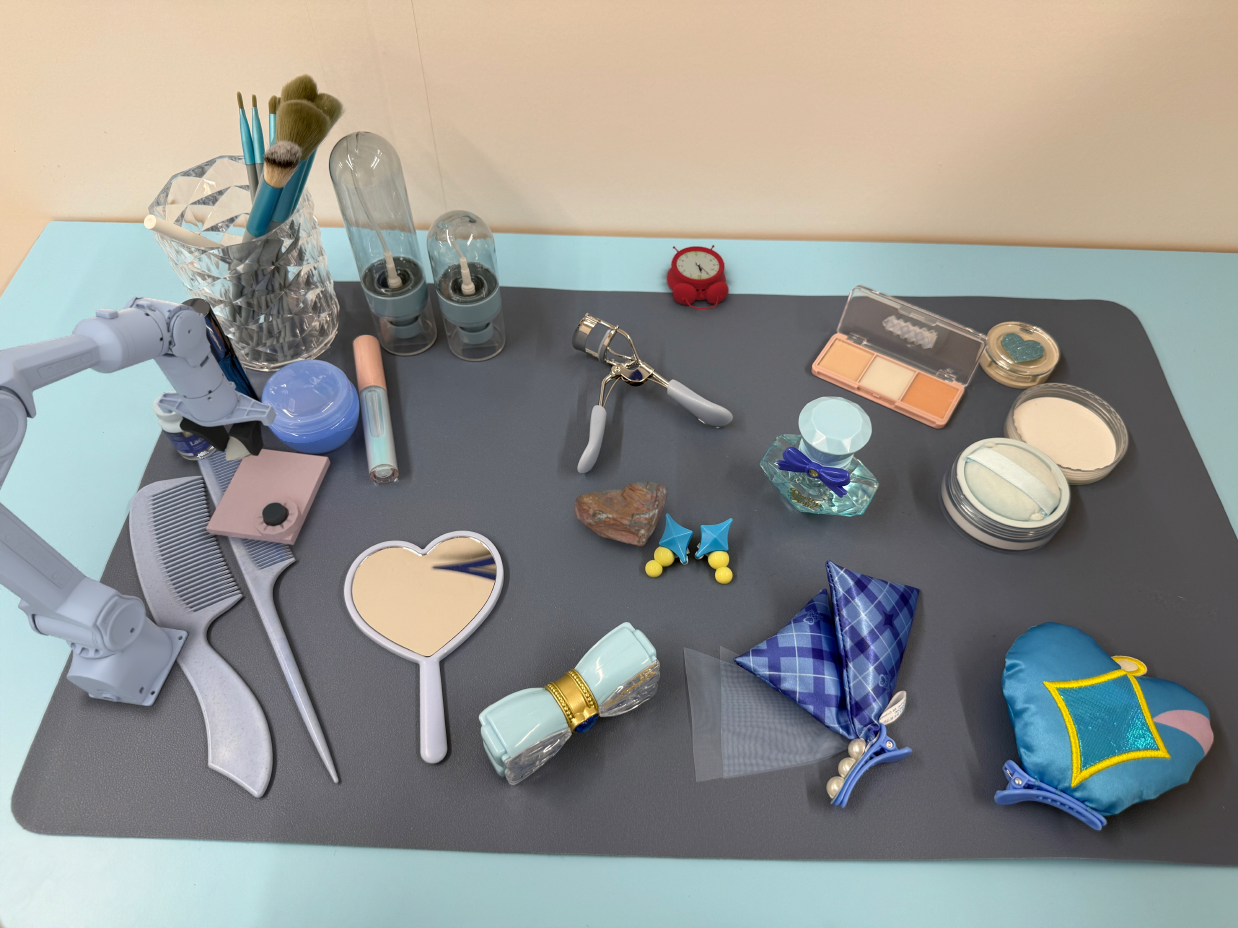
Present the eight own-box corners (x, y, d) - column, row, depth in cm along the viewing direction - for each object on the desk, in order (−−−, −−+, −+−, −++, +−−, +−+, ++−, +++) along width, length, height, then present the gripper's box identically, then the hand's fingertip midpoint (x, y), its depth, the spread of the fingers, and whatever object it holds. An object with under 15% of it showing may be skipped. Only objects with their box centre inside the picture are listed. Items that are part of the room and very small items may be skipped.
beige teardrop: (268, 447, 107) (262, 436, 105) (241, 472, 104) (234, 461, 102) (246, 434, 108) (239, 423, 106) (218, 459, 106) (211, 448, 104)
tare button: (282, 527, 103) (278, 521, 102) (262, 524, 103) (258, 518, 102) (290, 509, 105) (286, 503, 103) (271, 507, 105) (267, 500, 104)
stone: (662, 504, 109) (666, 463, 101) (674, 556, 104) (679, 517, 96) (573, 515, 108) (571, 475, 100) (581, 569, 103) (579, 530, 95)
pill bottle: (208, 464, 112) (177, 421, 104) (172, 458, 113) (139, 415, 105) (228, 434, 115) (199, 390, 107) (193, 428, 116) (162, 384, 108)
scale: (295, 547, 104) (287, 536, 102) (208, 536, 105) (199, 524, 103) (333, 462, 112) (327, 450, 110) (252, 452, 113) (244, 440, 111)
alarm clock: (722, 240, 138) (737, 280, 126) (719, 272, 142) (734, 314, 130) (664, 242, 137) (674, 283, 126) (663, 274, 141) (673, 316, 130)
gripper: (269, 363, 96) (304, 431, 107) (159, 351, 97) (204, 419, 108) (245, 406, 92) (284, 472, 103) (130, 393, 93) (181, 459, 104)
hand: (242, 448), depth 105 cm, fingers closed on beige teardrop, 4 cm apart
